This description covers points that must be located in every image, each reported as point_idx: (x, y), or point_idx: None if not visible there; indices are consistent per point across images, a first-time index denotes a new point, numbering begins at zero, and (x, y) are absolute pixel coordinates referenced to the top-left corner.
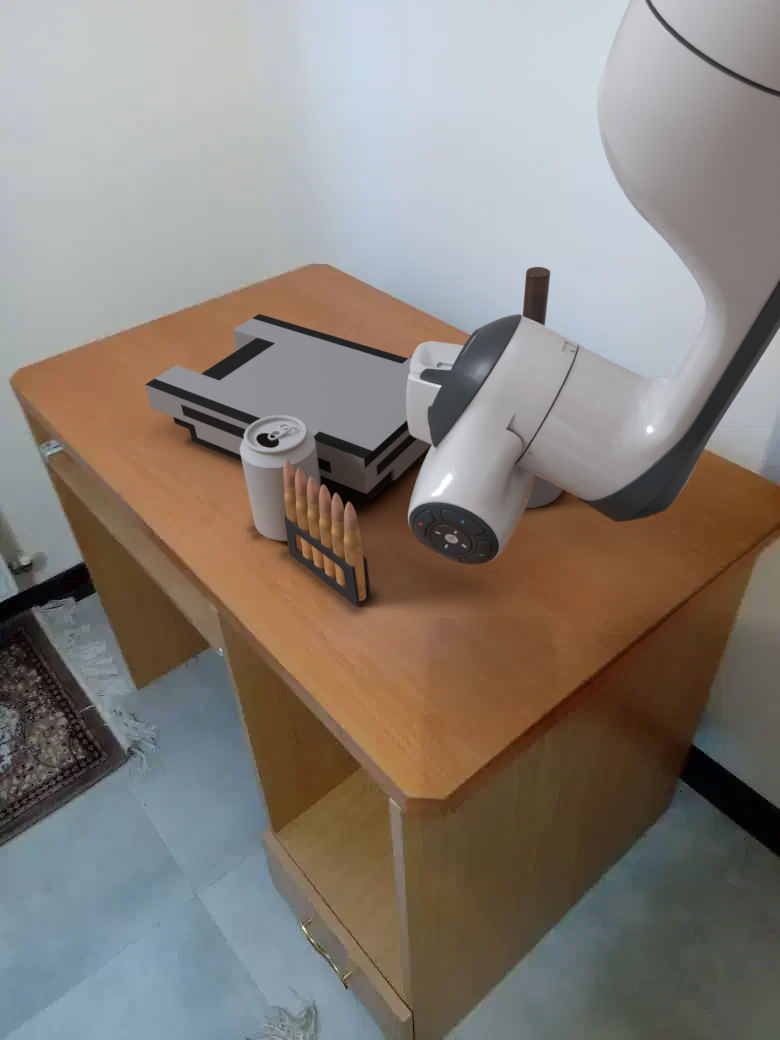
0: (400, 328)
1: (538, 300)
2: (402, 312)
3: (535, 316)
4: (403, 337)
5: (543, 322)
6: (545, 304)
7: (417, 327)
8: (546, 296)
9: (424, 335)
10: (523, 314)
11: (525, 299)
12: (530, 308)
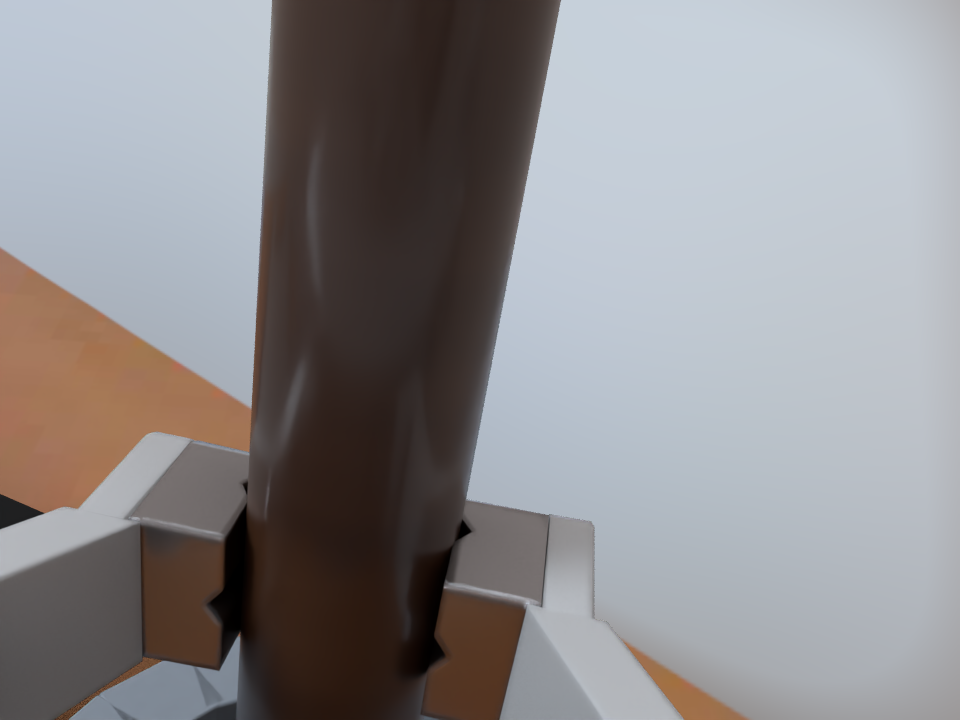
0: (14, 337)
1: (446, 43)
2: (43, 297)
3: (398, 260)
4: (9, 363)
5: (483, 341)
6: (524, 128)
7: (67, 338)
8: (543, 25)
9: (78, 362)
10: (263, 234)
11: (280, 35)
12: (338, 150)
